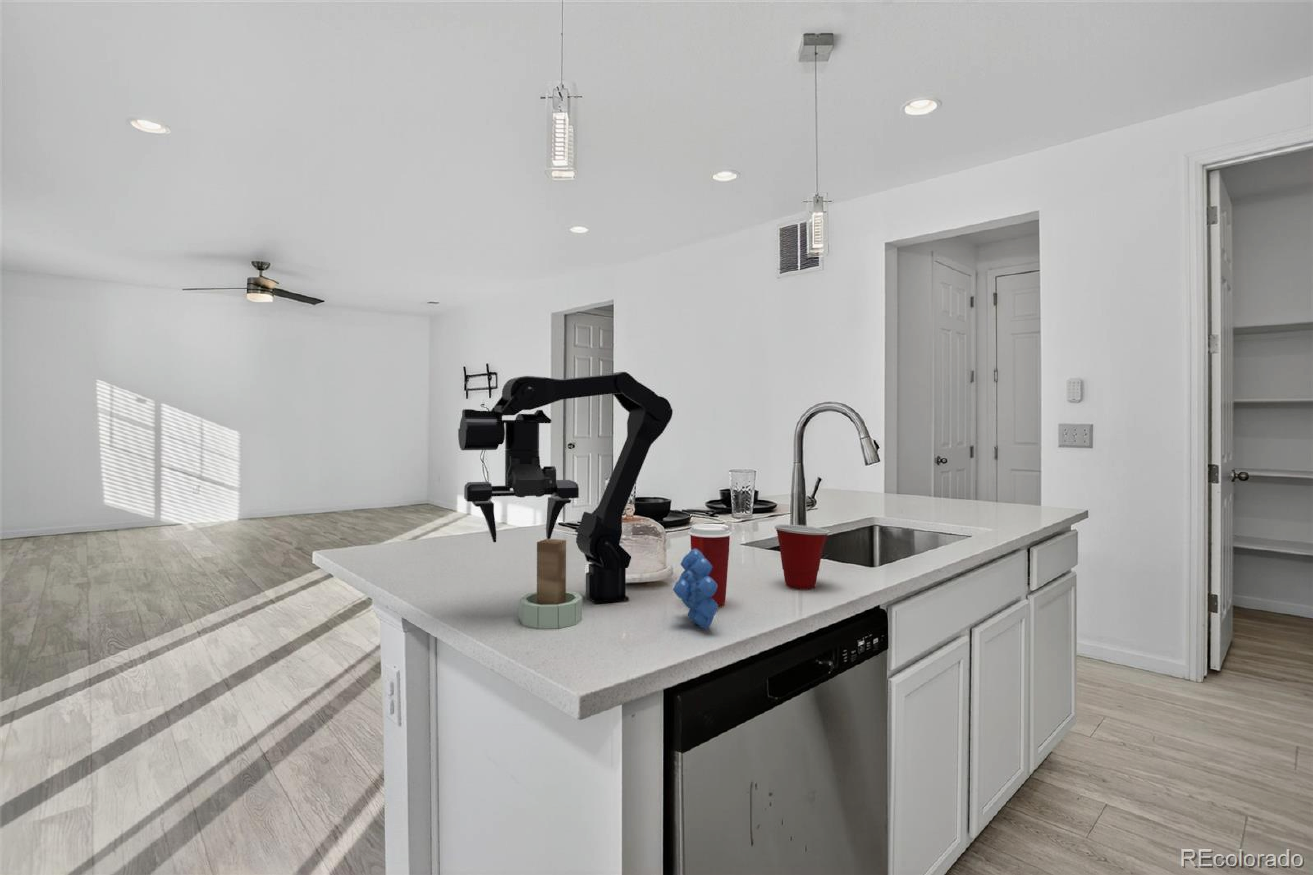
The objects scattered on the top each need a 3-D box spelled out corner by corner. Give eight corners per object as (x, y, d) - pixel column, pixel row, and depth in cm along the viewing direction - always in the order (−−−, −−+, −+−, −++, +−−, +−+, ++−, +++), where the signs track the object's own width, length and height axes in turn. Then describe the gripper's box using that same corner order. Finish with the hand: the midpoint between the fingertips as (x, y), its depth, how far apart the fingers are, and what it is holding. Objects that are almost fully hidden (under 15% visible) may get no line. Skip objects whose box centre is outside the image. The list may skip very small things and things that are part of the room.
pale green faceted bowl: (572, 607, 114) (572, 588, 114) (588, 625, 105) (588, 603, 105) (515, 613, 111) (515, 593, 110) (527, 632, 101) (527, 609, 101)
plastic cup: (840, 590, 128) (841, 528, 127) (794, 595, 124) (794, 532, 123) (807, 577, 138) (808, 520, 137) (763, 582, 134) (763, 523, 133)
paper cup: (736, 601, 119) (737, 524, 119) (722, 612, 112) (723, 531, 112) (696, 596, 123) (697, 521, 122) (680, 606, 116) (681, 527, 115)
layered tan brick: (546, 609, 110) (547, 538, 110) (565, 611, 109) (566, 540, 109) (536, 615, 107) (536, 542, 106) (556, 617, 105) (556, 543, 105)
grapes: (660, 616, 110) (661, 545, 109) (698, 613, 112) (698, 543, 111) (685, 638, 99) (686, 559, 98) (726, 634, 101) (727, 556, 100)
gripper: (471, 452, 101) (470, 552, 102) (587, 451, 108) (587, 545, 109) (464, 449, 112) (463, 540, 112) (570, 448, 119) (570, 534, 119)
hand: (521, 540), depth 113 cm, fingers open, 9 cm apart
